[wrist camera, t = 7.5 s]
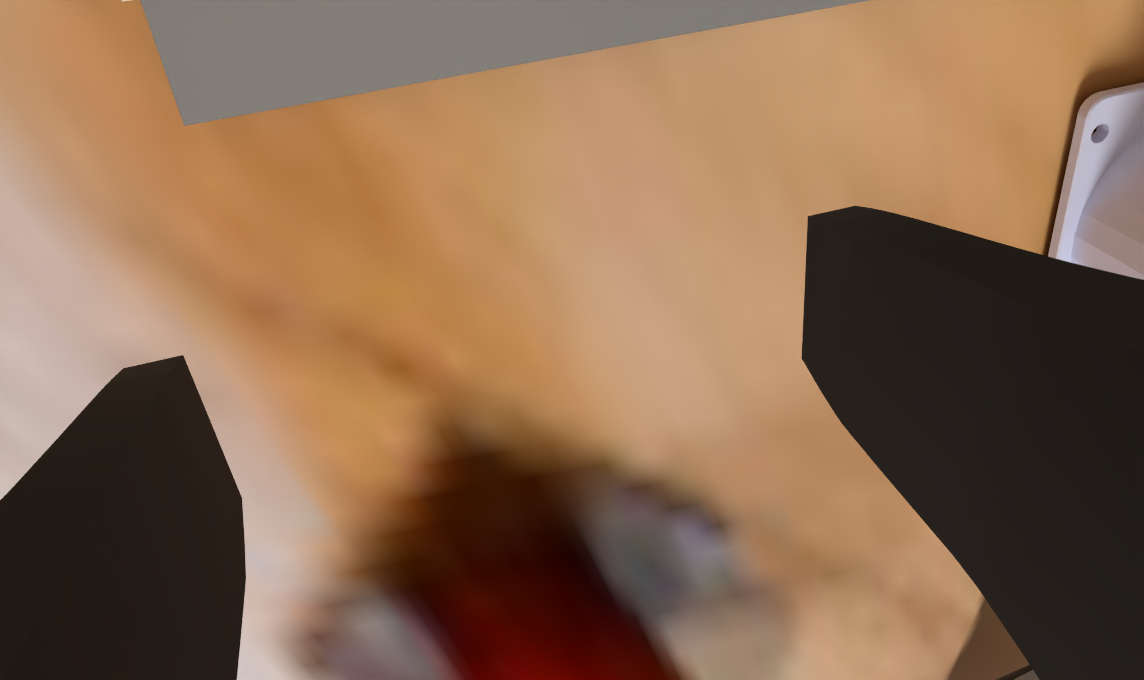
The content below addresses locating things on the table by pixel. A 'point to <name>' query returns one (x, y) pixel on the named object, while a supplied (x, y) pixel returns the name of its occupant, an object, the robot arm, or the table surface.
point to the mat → (398, 41)
